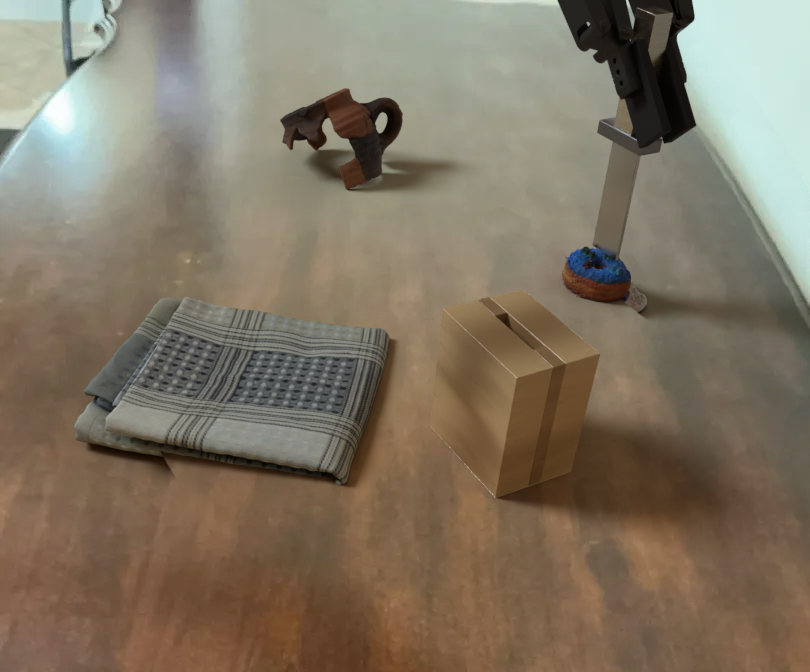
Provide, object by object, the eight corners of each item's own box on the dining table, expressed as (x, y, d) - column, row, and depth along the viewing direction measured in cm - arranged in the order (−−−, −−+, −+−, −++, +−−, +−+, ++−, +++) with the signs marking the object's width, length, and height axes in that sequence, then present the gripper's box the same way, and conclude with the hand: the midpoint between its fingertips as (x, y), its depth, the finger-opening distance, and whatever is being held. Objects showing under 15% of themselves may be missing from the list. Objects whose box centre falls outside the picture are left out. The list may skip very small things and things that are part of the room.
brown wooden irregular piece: (325, 204, 91) (287, 115, 87) (295, 207, 99) (259, 125, 96) (432, 152, 93) (400, 63, 90) (394, 158, 102) (363, 78, 98)
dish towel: (395, 346, 74) (398, 309, 71) (345, 500, 61) (346, 460, 59) (159, 310, 75) (154, 272, 73) (61, 452, 62) (52, 412, 60)
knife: (634, 263, 78) (690, 18, 66) (615, 268, 77) (668, 21, 65) (595, 237, 81) (642, -1, 69) (576, 242, 80) (620, 1, 68)
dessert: (530, 285, 80) (569, 220, 79) (557, 303, 86) (594, 242, 84) (608, 332, 77) (650, 265, 75) (631, 347, 83) (671, 285, 81)
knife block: (568, 482, 64) (601, 353, 57) (493, 509, 61) (517, 378, 54) (500, 415, 68) (522, 288, 62) (428, 437, 66) (442, 308, 59)
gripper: (619, -158, 74) (707, 145, 76) (457, -154, 68) (556, 174, 70) (685, -236, 67) (780, 99, 69) (511, -239, 61) (619, 127, 63)
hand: (667, 136), depth 69 cm, fingers closed on knife, 2 cm apart
